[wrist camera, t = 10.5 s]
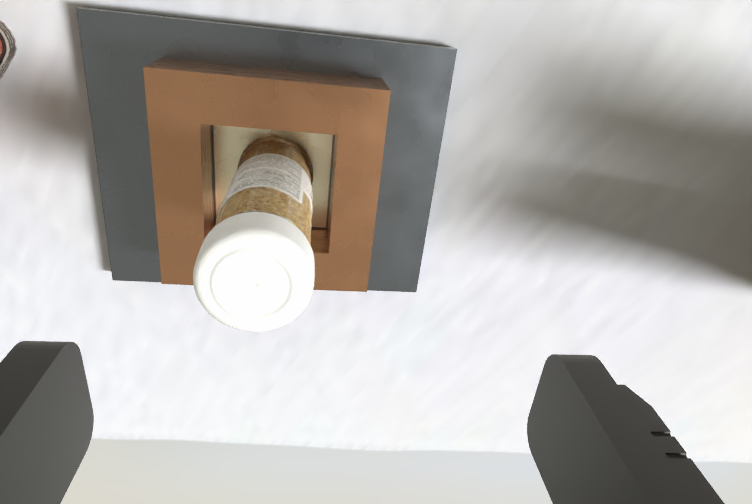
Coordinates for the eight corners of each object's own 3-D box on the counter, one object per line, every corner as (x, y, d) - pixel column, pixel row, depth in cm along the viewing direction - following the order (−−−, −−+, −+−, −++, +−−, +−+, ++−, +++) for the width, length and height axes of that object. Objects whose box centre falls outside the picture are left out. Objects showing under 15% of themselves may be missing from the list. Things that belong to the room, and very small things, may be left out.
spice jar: (298, 216, 33) (290, 349, 21) (227, 191, 32) (175, 317, 20) (325, 151, 31) (332, 255, 19) (250, 121, 30) (210, 213, 18)
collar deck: (452, 47, 30) (473, 57, 26) (413, 284, 38) (425, 320, 34) (84, 7, 28) (45, 11, 24) (117, 272, 35) (92, 310, 31)
